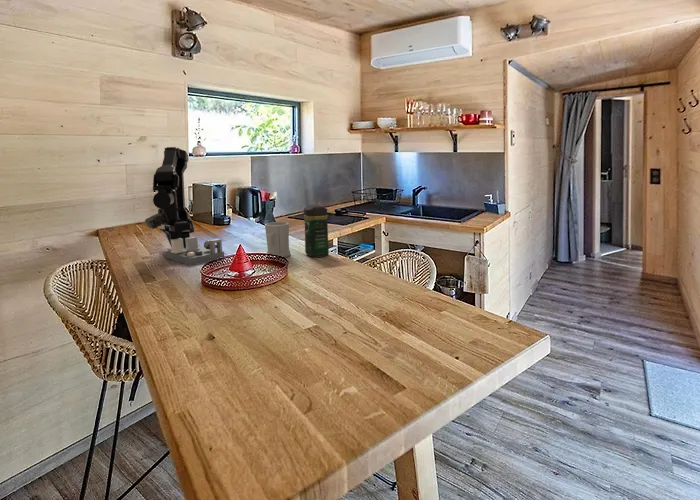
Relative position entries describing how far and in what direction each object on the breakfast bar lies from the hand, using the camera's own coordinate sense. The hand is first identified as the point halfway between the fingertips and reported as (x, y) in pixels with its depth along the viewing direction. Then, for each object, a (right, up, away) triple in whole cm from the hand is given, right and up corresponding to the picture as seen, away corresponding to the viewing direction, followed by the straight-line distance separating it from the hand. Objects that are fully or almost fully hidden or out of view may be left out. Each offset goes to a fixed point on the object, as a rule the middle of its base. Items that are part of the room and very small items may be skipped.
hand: (173, 247), depth 172 cm
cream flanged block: (+2, -2, -2) cm, 3 cm away
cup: (+39, -3, 0) cm, 39 cm away
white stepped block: (+7, -1, 0) cm, 7 cm away
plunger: (+14, -1, -1) cm, 15 cm away
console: (+8, -4, 0) cm, 9 cm away
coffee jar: (+53, -3, +1) cm, 53 cm away
